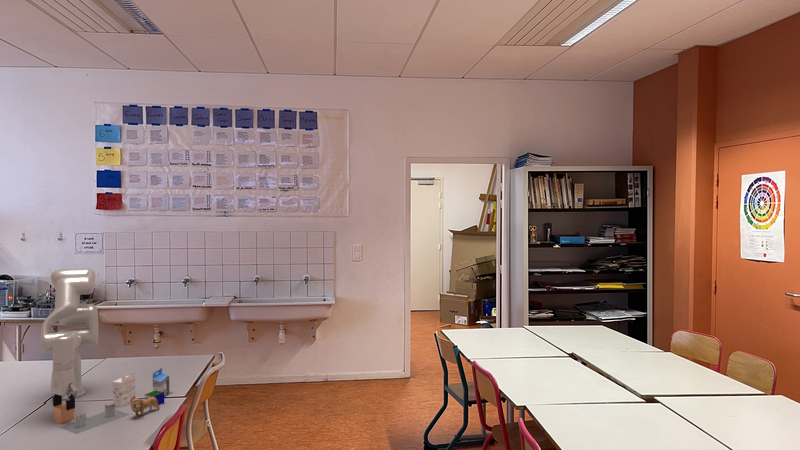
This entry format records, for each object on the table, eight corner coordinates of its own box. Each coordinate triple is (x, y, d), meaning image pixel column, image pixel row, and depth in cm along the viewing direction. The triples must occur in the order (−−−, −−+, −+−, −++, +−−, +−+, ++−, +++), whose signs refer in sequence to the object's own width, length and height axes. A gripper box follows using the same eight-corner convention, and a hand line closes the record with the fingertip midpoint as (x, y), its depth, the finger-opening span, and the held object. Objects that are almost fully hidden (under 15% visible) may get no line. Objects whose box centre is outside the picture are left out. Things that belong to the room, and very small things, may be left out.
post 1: (75, 426, 203) (75, 414, 203) (82, 424, 206) (82, 411, 206) (79, 427, 202) (79, 415, 202) (85, 425, 204) (85, 413, 204)
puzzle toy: (155, 402, 232) (155, 390, 232) (164, 404, 230) (164, 392, 230) (144, 406, 227) (144, 394, 227) (154, 408, 225) (154, 396, 224)
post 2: (105, 416, 214) (105, 404, 214) (111, 414, 216) (111, 402, 216) (108, 417, 213) (108, 405, 213) (114, 415, 215) (114, 403, 215)
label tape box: (160, 399, 236) (160, 373, 235) (152, 399, 236) (152, 373, 235) (169, 393, 244) (169, 367, 244) (161, 392, 244) (161, 367, 244)
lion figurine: (137, 422, 210) (137, 401, 209) (127, 421, 211) (126, 399, 211) (163, 409, 224) (163, 389, 223) (153, 408, 225) (153, 388, 225)
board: (59, 429, 202) (59, 427, 202) (113, 410, 222) (113, 409, 222) (76, 435, 197) (76, 433, 197) (130, 416, 216) (130, 414, 216)
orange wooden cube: (53, 422, 209) (53, 406, 209) (67, 418, 213) (67, 402, 213) (60, 425, 206) (60, 409, 206) (74, 420, 211) (74, 405, 211)
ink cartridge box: (126, 400, 234) (126, 368, 234) (135, 401, 233) (135, 369, 233) (112, 407, 226) (112, 374, 225) (122, 408, 225) (121, 375, 224)
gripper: (42, 365, 210) (42, 406, 210) (65, 370, 202) (65, 413, 201) (61, 361, 217) (62, 401, 216) (85, 366, 208) (85, 407, 208)
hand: (63, 407), depth 209 cm, fingers open, 9 cm apart
